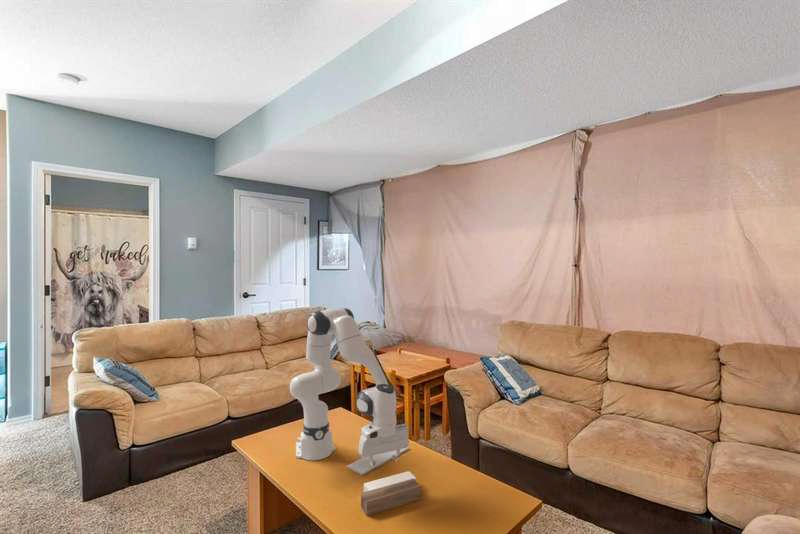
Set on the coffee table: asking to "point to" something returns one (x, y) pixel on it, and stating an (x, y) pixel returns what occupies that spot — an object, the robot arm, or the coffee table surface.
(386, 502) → the brown wooden block
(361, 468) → the baseboard molding
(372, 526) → the coffee table surface
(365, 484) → the cream floor plank
